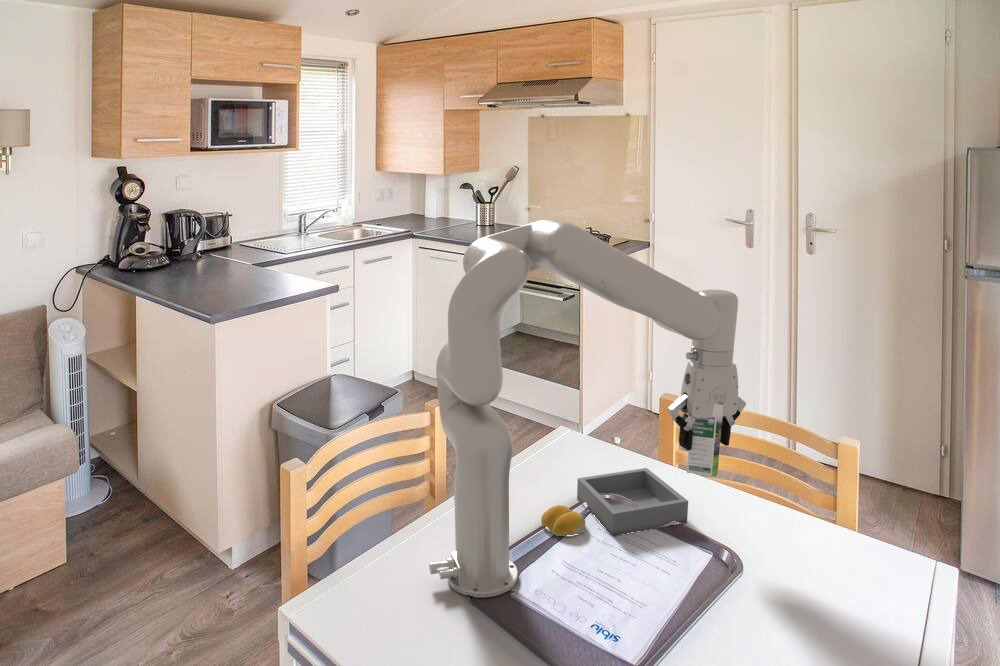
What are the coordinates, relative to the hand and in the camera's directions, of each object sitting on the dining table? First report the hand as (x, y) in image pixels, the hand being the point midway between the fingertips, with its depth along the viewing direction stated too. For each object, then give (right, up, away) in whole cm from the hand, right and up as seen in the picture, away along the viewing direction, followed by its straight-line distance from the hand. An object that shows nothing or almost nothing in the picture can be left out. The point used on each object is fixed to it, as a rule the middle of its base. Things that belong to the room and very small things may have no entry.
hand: (704, 444), depth 136 cm
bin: (-11, -16, +15) cm, 25 cm away
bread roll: (-26, -19, +9) cm, 33 cm away
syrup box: (0, -5, +1) cm, 5 cm away
